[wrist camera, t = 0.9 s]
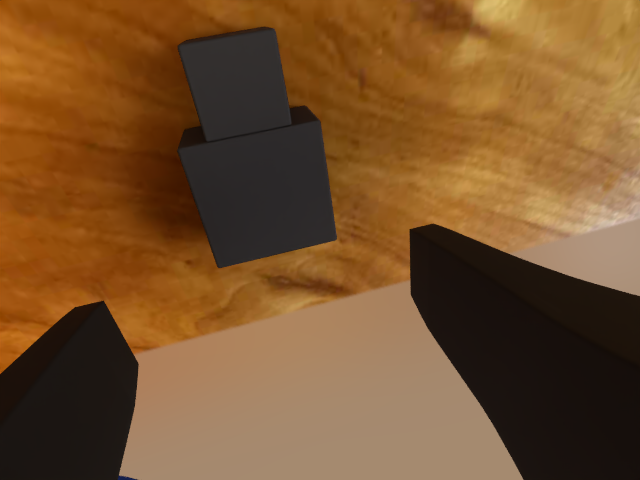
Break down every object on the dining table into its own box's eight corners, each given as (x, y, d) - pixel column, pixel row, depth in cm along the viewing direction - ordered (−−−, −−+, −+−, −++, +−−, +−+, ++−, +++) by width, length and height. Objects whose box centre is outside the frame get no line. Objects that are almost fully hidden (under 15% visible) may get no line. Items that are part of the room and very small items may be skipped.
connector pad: (322, 212, 18) (337, 240, 16) (218, 236, 18) (217, 269, 16) (292, 21, 14) (306, 22, 12) (155, 45, 14) (142, 50, 11)
